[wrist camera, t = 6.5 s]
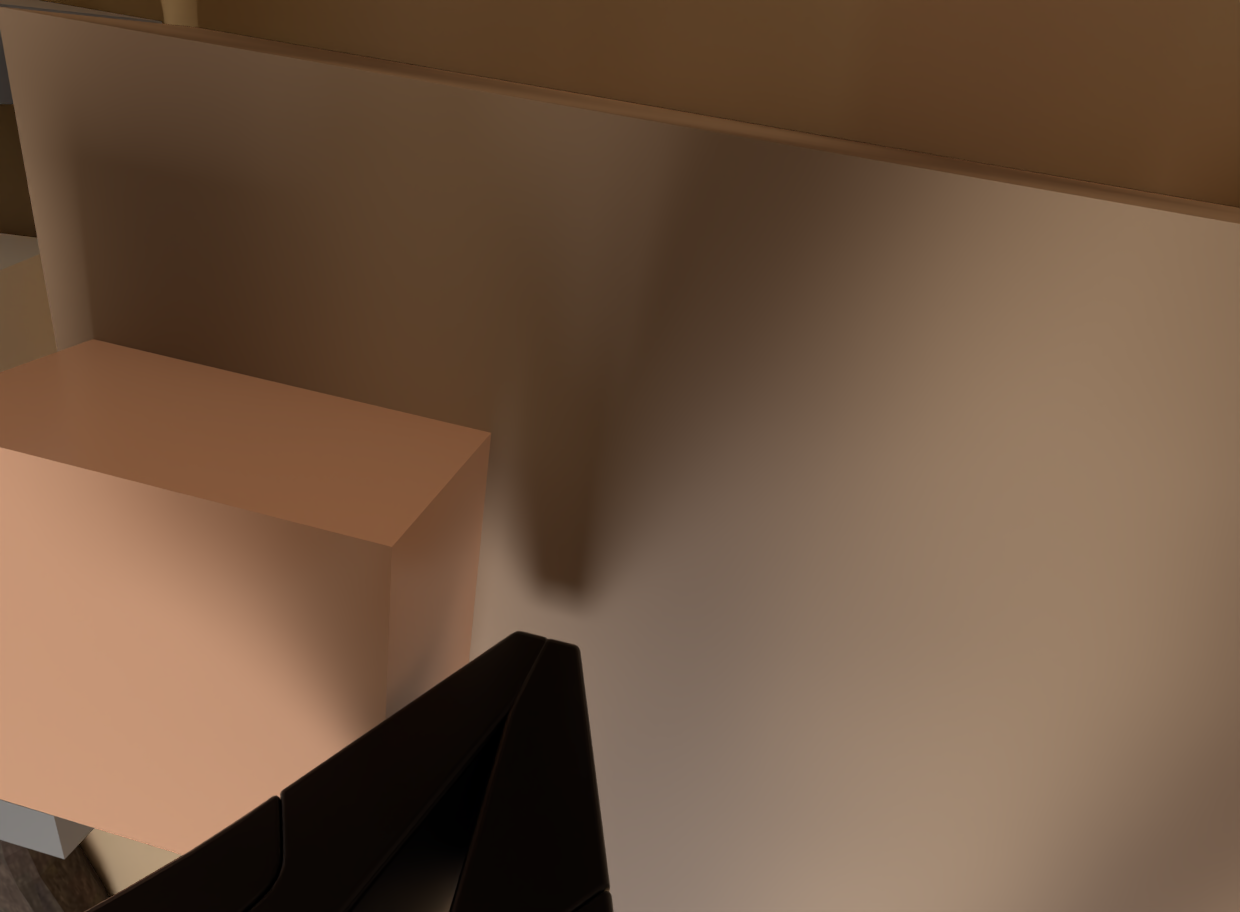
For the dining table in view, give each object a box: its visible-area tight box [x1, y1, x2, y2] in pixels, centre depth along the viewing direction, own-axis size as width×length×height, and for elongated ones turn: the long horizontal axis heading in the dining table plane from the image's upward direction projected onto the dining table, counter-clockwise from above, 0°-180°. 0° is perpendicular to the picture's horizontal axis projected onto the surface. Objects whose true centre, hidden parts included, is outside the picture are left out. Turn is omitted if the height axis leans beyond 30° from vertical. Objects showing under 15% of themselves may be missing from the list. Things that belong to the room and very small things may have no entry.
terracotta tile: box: [0, 339, 491, 855], centre depth 9 cm, size 5×5×2 cm
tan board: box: [0, 7, 1240, 912], centre depth 11 cm, size 17×12×3 cm
